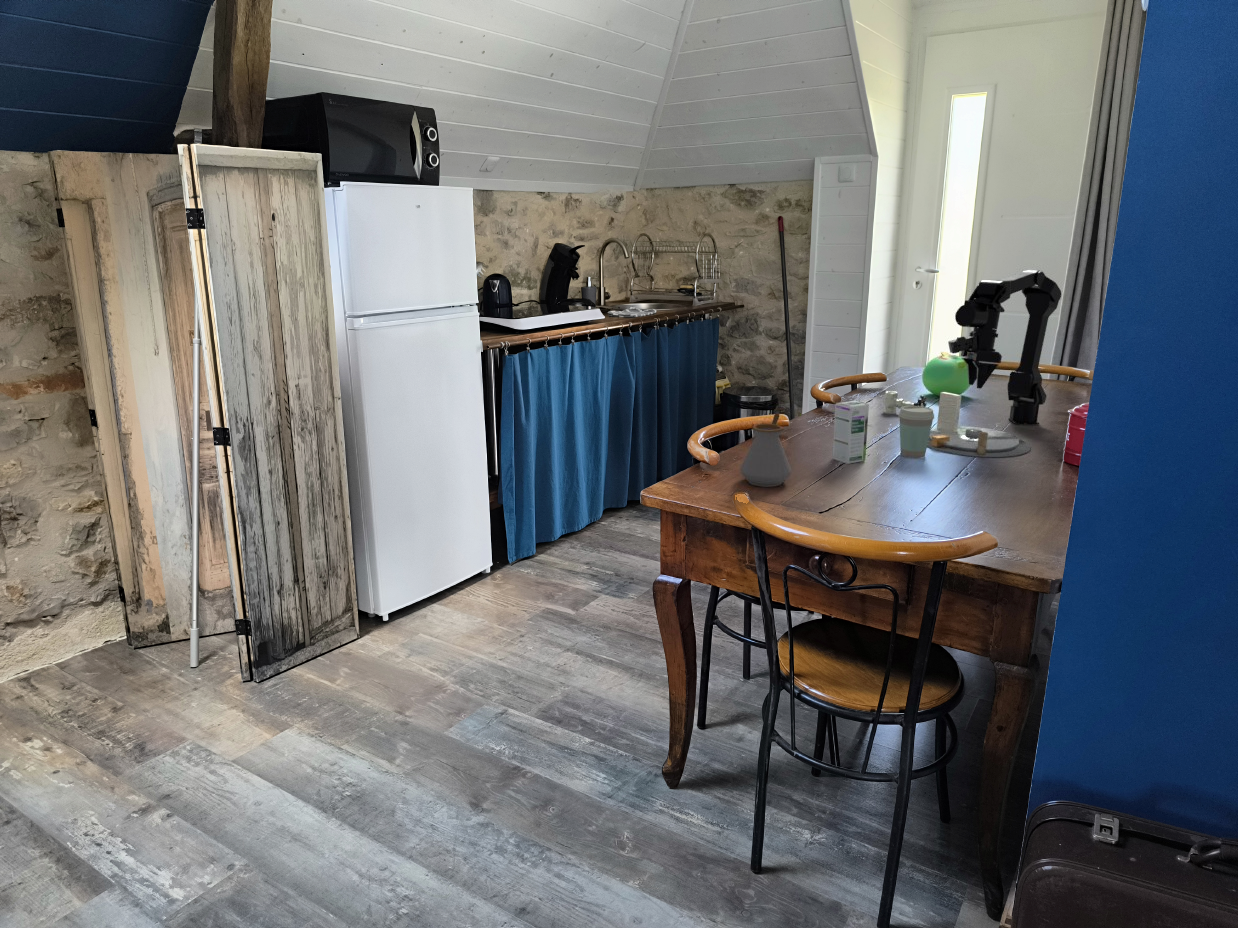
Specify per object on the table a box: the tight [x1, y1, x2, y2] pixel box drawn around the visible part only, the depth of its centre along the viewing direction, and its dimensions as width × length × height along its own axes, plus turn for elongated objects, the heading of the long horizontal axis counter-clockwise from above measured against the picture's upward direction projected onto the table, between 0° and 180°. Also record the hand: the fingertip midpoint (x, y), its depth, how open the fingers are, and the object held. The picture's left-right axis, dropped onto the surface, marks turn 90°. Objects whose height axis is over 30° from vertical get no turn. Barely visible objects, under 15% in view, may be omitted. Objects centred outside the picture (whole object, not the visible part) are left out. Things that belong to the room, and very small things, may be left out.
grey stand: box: [929, 392, 1020, 452], centre depth 217 cm, size 22×24×11 cm
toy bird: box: [921, 351, 971, 397], centre depth 277 cm, size 18×17×15 cm
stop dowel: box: [977, 432, 988, 456], centre depth 207 cm, size 2×2×6 cm
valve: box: [883, 390, 928, 415], centre depth 252 cm, size 7×7×12 cm
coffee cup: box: [897, 406, 935, 459], centre depth 207 cm, size 8×8×12 cm
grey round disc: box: [927, 438, 1031, 459], centre depth 219 cm, size 28×28×1 cm
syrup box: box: [832, 400, 870, 465], centre depth 203 cm, size 6×6×14 cm
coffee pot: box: [739, 404, 792, 488], centre depth 191 cm, size 21×12×15 cm, turn 158°
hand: (974, 386), depth 223 cm, fingers open, 9 cm apart
